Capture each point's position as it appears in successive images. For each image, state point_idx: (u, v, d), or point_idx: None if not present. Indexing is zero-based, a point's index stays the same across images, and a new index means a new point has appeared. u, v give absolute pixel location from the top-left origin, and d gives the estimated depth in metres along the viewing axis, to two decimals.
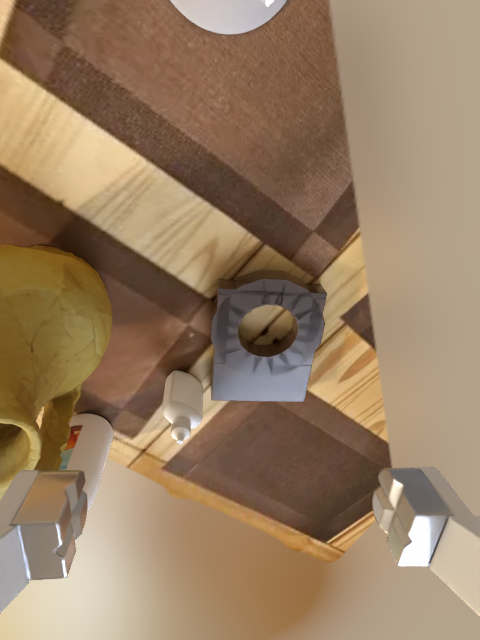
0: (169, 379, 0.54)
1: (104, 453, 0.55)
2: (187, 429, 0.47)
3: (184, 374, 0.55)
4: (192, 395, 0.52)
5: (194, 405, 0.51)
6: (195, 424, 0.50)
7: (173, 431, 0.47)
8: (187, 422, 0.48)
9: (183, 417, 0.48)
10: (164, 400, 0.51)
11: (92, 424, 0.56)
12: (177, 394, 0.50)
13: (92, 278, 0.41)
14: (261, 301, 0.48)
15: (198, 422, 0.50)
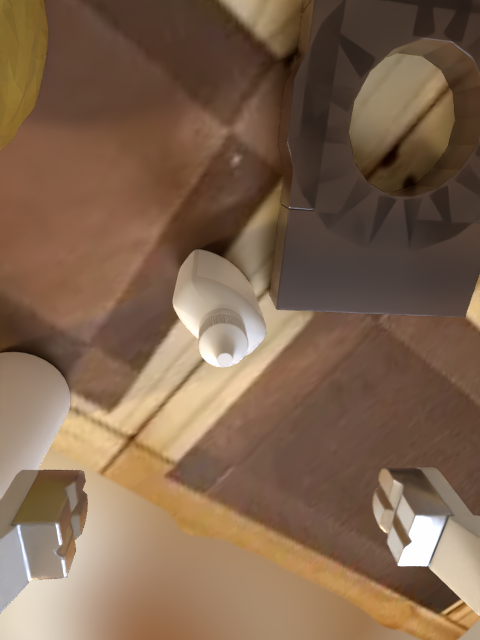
0: (186, 261, 0.25)
1: (41, 428, 0.25)
2: (242, 332, 0.18)
3: (217, 255, 0.26)
4: (240, 284, 0.23)
5: (249, 299, 0.22)
6: (252, 339, 0.21)
7: (205, 336, 0.17)
8: None
9: (227, 310, 0.19)
10: (178, 286, 0.21)
11: (21, 368, 0.26)
12: (209, 272, 0.21)
13: None
14: (415, 27, 0.20)
15: (260, 335, 0.21)
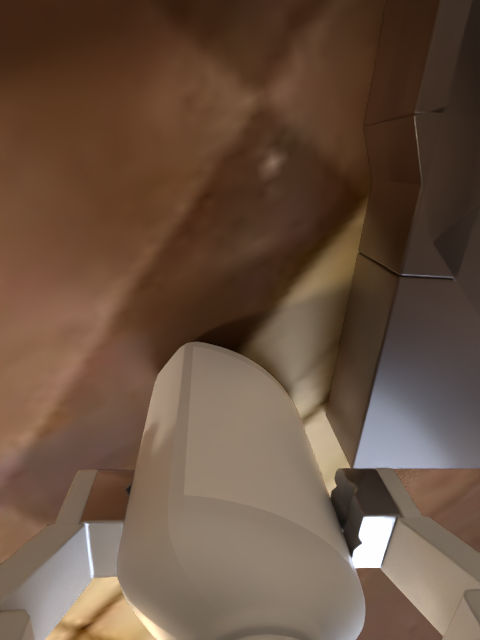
0: (167, 376, 0.12)
1: None
2: None
3: (230, 355, 0.13)
4: (288, 451, 0.10)
5: (319, 517, 0.08)
6: None
7: None
8: None
9: None
10: (137, 488, 0.08)
11: None
12: (218, 452, 0.08)
13: None
14: None
15: (355, 636, 0.08)
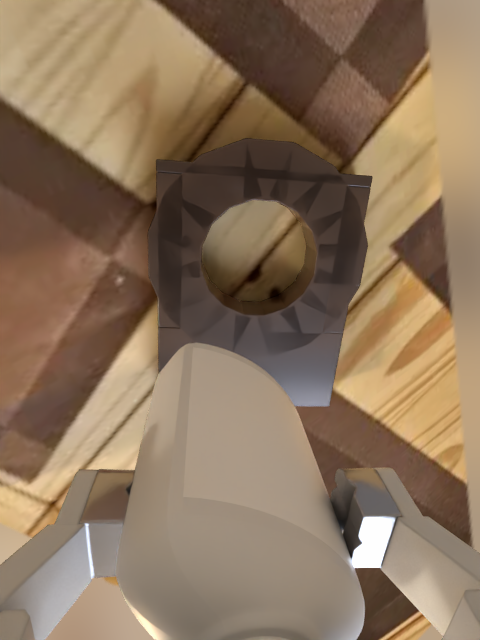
0: (166, 377, 0.12)
1: None
2: None
3: (230, 356, 0.13)
4: (288, 453, 0.10)
5: (318, 518, 0.09)
6: None
7: None
8: None
9: None
10: (137, 490, 0.08)
11: None
12: (217, 454, 0.08)
13: None
14: (244, 192, 0.24)
15: (355, 638, 0.08)
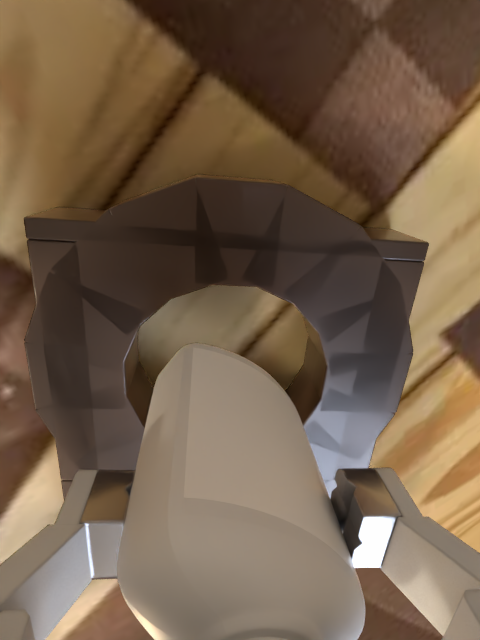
0: (167, 378, 0.12)
1: None
2: None
3: (230, 356, 0.13)
4: (288, 453, 0.10)
5: (318, 519, 0.08)
6: None
7: None
8: None
9: None
10: (137, 490, 0.08)
11: None
12: (218, 454, 0.08)
13: None
14: (196, 272, 0.13)
15: (355, 638, 0.08)
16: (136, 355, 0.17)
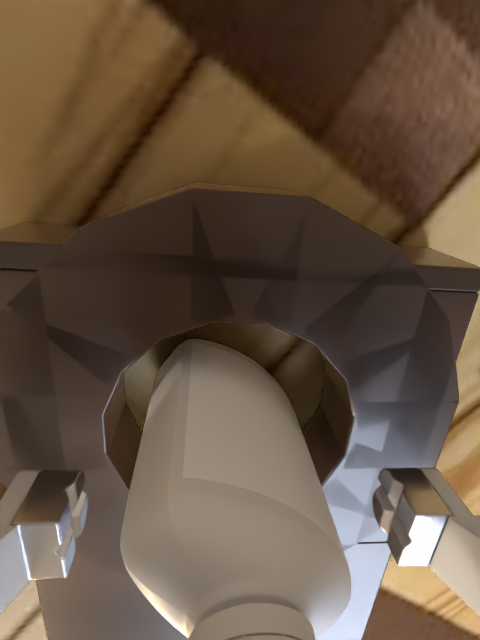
0: (167, 371, 0.13)
1: None
2: None
3: (228, 352, 0.14)
4: (281, 442, 0.10)
5: (309, 501, 0.09)
6: (324, 628, 0.08)
7: None
8: None
9: (268, 614, 0.06)
10: (139, 473, 0.09)
11: None
12: (214, 440, 0.09)
13: None
14: (193, 307, 0.10)
15: (342, 611, 0.08)
16: (122, 398, 0.14)
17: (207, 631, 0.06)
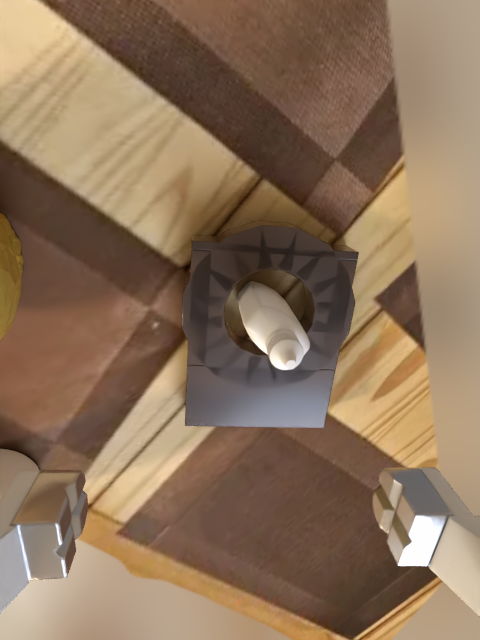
0: (244, 291, 0.33)
1: None
2: (300, 345, 0.26)
3: (266, 286, 0.34)
4: (288, 309, 0.31)
5: (297, 321, 0.30)
6: None
7: (275, 348, 0.25)
8: (295, 338, 0.27)
9: (286, 330, 0.27)
10: (245, 311, 0.29)
11: (4, 465, 0.37)
12: (268, 301, 0.29)
13: None
14: (259, 264, 0.31)
15: (306, 347, 0.29)
16: None
17: (272, 333, 0.27)
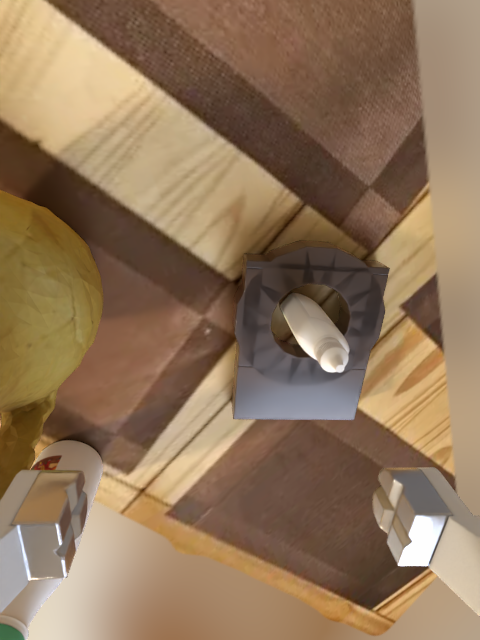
0: (288, 302, 0.38)
1: (89, 494, 0.40)
2: (345, 352, 0.30)
3: (306, 297, 0.39)
4: (329, 318, 0.36)
5: None
6: None
7: (325, 354, 0.30)
8: (340, 345, 0.32)
9: (332, 338, 0.32)
10: (294, 321, 0.34)
11: (75, 454, 0.42)
12: (313, 312, 0.34)
13: (75, 237, 0.29)
14: (303, 279, 0.36)
15: (347, 352, 0.34)
16: None
17: (320, 341, 0.32)
